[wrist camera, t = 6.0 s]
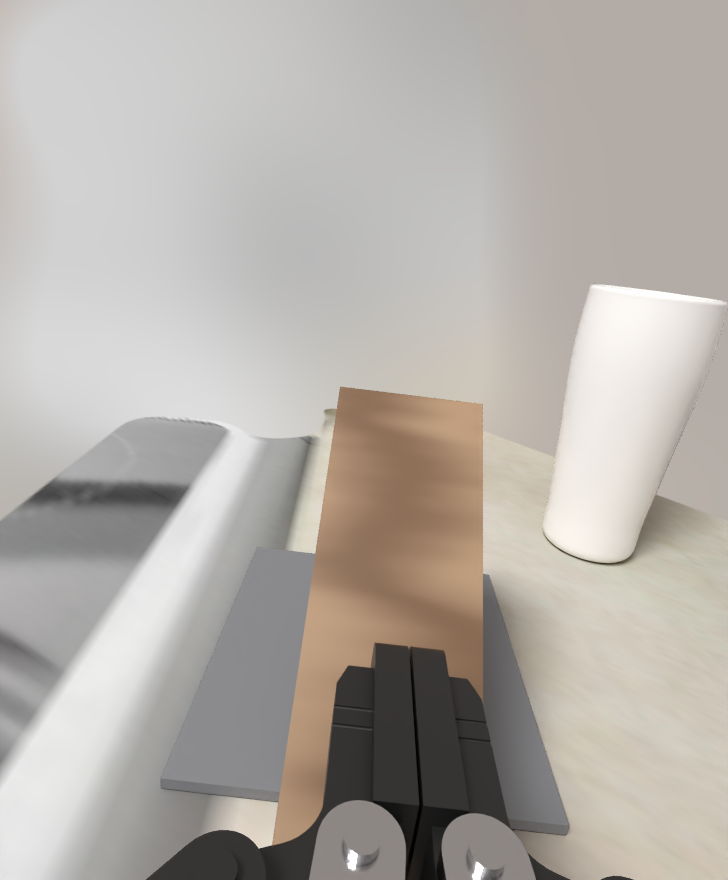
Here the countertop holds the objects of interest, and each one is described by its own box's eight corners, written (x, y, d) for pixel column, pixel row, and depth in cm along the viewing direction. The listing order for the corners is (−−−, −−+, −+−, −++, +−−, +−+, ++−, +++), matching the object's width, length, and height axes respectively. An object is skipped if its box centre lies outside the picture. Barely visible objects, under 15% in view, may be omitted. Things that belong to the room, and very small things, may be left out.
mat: (487, 581, 28) (488, 574, 28) (565, 835, 16) (569, 825, 16) (256, 553, 28) (257, 546, 28) (160, 787, 16) (160, 778, 16)
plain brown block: (442, 848, 15) (452, 466, 21) (483, 885, 12) (482, 403, 17) (283, 829, 15) (336, 452, 21) (269, 861, 11) (340, 386, 17)
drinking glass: (520, 510, 37) (575, 280, 32) (622, 526, 37) (694, 295, 32) (538, 563, 31) (610, 288, 26) (662, 584, 30) (760, 307, 25)
